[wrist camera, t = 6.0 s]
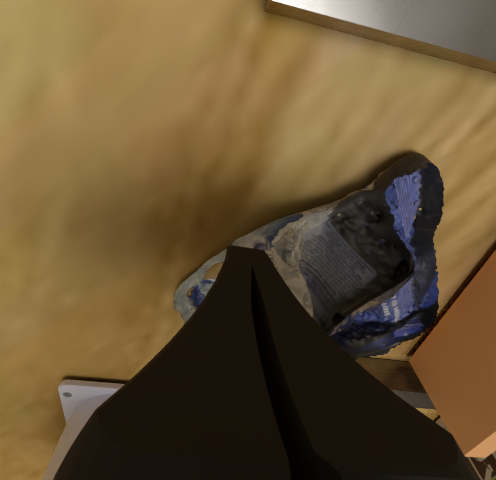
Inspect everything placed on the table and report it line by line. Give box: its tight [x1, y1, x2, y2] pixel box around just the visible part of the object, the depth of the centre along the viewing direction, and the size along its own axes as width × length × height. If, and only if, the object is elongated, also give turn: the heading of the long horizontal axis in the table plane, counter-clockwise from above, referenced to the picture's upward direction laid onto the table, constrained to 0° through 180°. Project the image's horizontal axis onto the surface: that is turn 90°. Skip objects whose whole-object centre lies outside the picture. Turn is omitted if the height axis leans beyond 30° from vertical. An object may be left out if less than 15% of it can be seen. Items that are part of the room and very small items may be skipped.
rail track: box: [265, 0, 496, 409], centre depth 13 cm, size 18×18×2 cm
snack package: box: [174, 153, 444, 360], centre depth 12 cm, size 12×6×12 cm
